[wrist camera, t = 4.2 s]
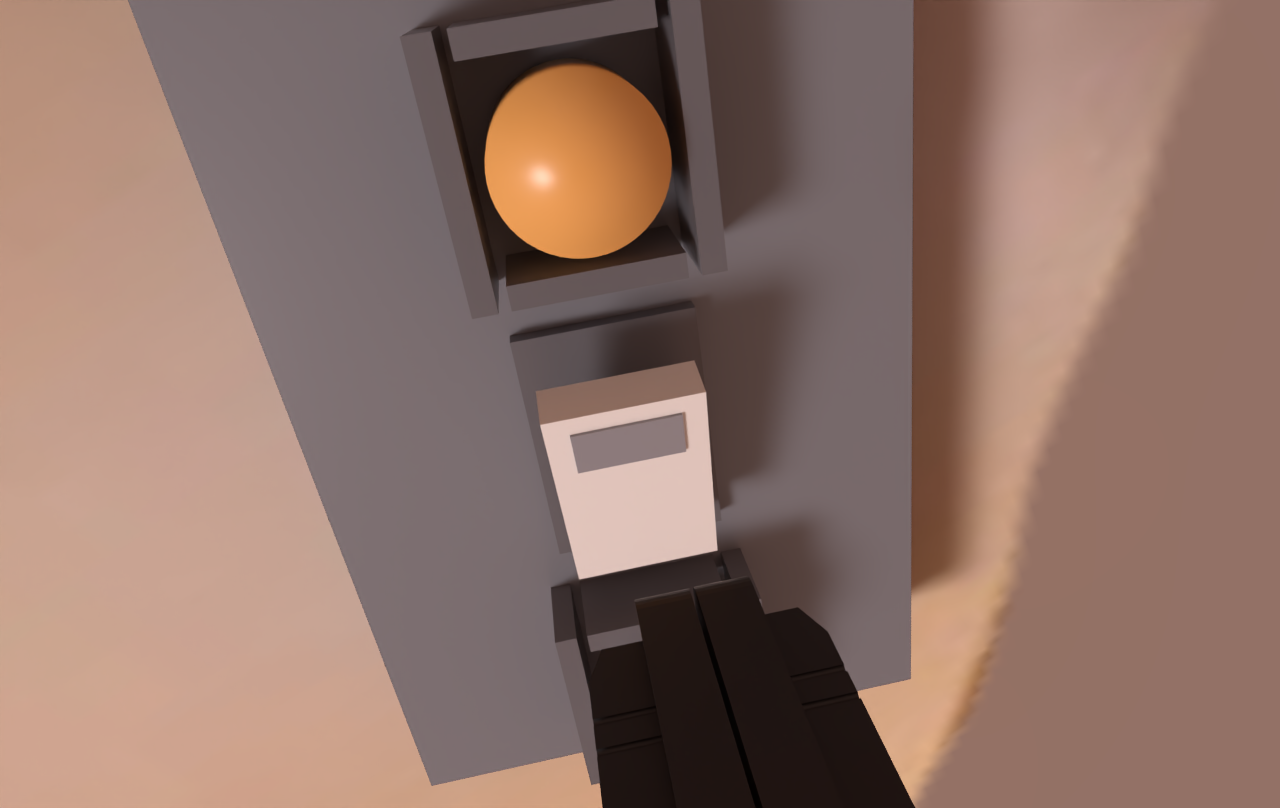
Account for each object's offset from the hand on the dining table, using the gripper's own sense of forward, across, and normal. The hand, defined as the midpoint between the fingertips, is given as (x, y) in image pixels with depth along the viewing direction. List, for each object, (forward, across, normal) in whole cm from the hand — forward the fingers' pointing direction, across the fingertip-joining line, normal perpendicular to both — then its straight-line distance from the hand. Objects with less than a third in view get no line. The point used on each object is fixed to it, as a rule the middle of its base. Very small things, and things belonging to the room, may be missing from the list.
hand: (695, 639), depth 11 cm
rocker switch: (+8, 0, +2) cm, 8 cm away
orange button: (+8, 0, -5) cm, 10 cm away
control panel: (+12, 0, -2) cm, 12 cm away
